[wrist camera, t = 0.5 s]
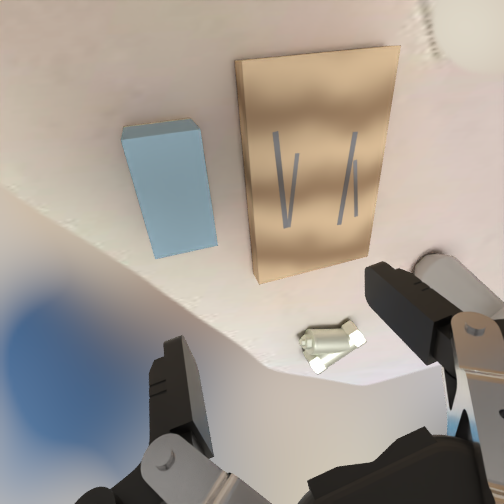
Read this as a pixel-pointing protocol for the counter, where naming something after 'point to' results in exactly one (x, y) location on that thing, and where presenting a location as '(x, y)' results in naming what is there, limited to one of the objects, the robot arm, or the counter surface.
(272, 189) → the oak board
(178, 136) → the block
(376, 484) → the robot arm
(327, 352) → the pipe fitting
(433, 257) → the salt shaker
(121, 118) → the counter surface
